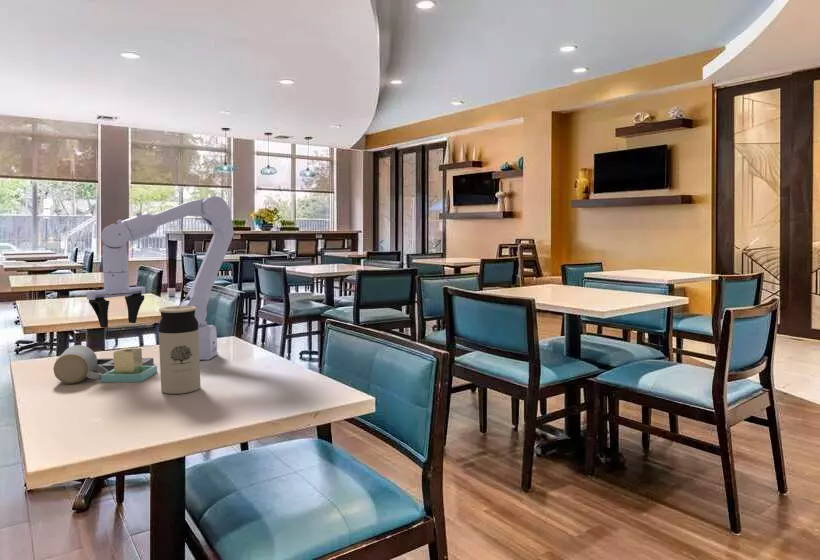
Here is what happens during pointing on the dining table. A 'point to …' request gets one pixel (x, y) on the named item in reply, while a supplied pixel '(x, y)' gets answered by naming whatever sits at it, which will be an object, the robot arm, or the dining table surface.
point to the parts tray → (129, 375)
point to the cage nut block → (128, 361)
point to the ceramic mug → (77, 365)
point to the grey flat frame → (109, 362)
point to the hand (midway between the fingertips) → (118, 324)
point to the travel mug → (179, 350)
